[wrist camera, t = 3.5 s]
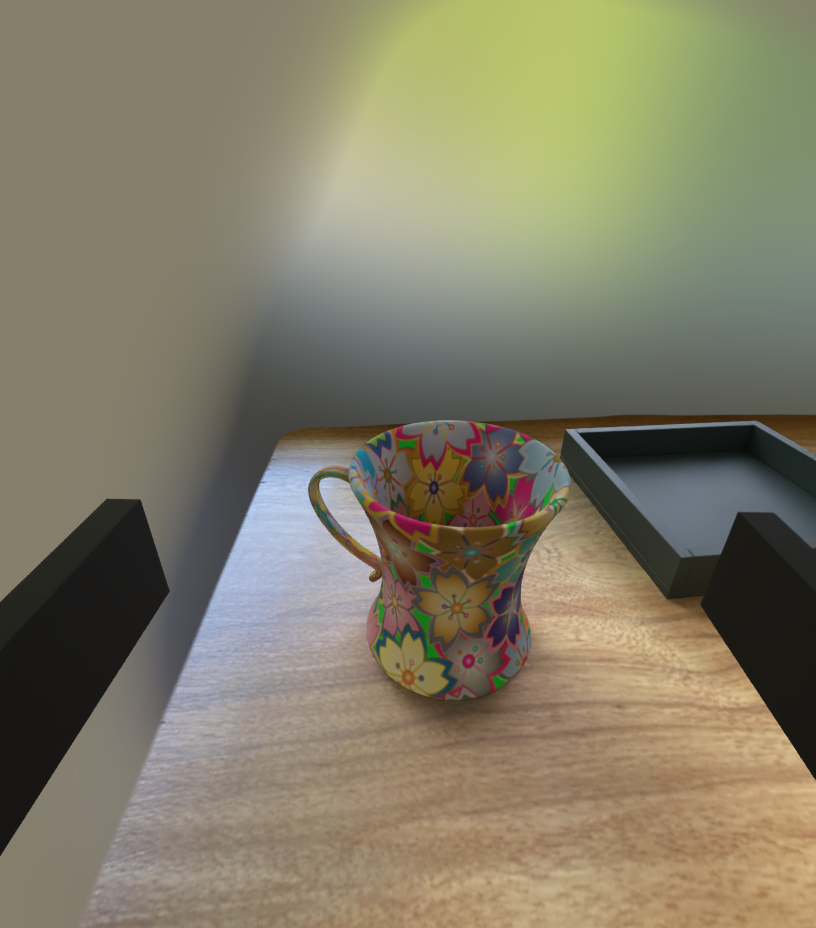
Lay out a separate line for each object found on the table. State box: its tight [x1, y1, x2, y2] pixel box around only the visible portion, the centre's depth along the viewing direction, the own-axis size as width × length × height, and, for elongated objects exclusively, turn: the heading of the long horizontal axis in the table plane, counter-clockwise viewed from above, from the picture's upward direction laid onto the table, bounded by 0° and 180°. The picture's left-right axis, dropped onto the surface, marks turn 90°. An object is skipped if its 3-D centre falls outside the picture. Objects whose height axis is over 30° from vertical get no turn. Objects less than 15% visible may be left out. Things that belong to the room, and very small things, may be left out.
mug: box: [308, 421, 571, 700], centre depth 24 cm, size 12×9×11 cm
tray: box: [560, 421, 816, 599], centre depth 36 cm, size 18×17×3 cm
